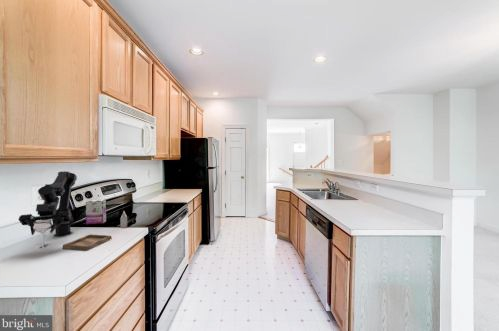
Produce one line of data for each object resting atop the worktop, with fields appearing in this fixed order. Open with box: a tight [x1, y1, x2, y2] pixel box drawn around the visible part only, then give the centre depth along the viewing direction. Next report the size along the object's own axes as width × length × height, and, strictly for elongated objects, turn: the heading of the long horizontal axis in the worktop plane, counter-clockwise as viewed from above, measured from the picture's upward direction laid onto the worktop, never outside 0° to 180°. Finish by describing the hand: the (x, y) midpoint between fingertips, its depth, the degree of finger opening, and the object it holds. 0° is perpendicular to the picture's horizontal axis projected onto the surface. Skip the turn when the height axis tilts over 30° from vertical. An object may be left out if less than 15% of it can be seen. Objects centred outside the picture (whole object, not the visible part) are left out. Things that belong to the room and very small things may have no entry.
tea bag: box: [120, 210, 128, 229], centre depth 148 cm, size 4×7×10 cm, turn 28°
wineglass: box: [33, 219, 53, 249], centre depth 104 cm, size 7×7×12 cm
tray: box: [62, 234, 112, 251], centre depth 117 cm, size 16×14×2 cm
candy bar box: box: [85, 199, 107, 225], centre depth 155 cm, size 11×5×16 cm, turn 102°
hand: (41, 233), depth 103 cm, fingers closed on wineglass, 6 cm apart
